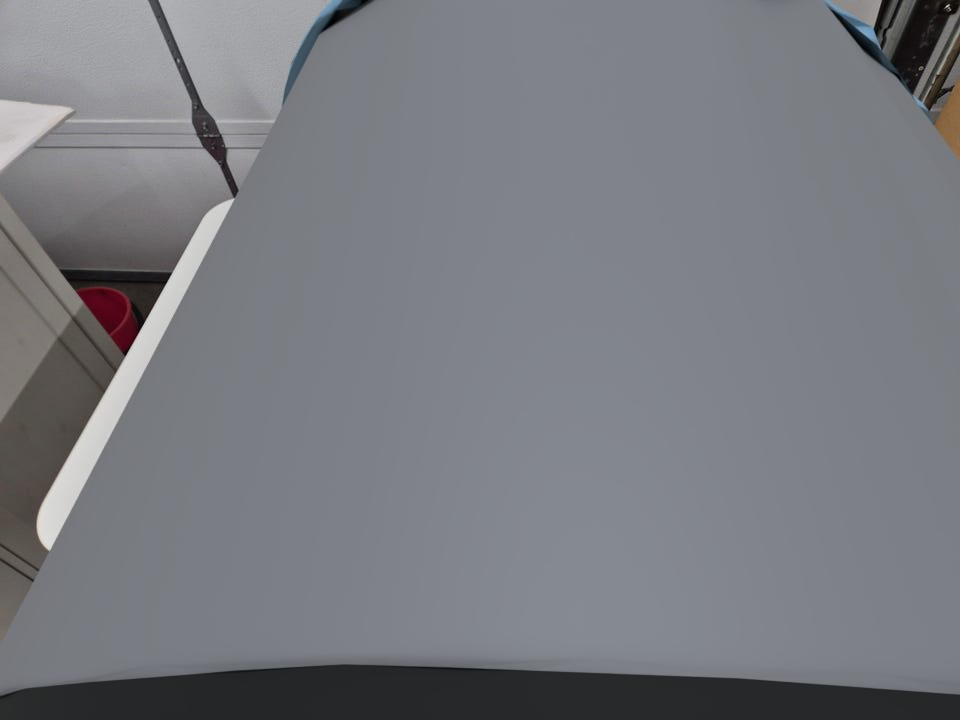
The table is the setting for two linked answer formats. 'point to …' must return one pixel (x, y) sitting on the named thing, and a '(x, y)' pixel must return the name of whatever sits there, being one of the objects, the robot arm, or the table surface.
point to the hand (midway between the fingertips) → (494, 501)
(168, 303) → the table surface
